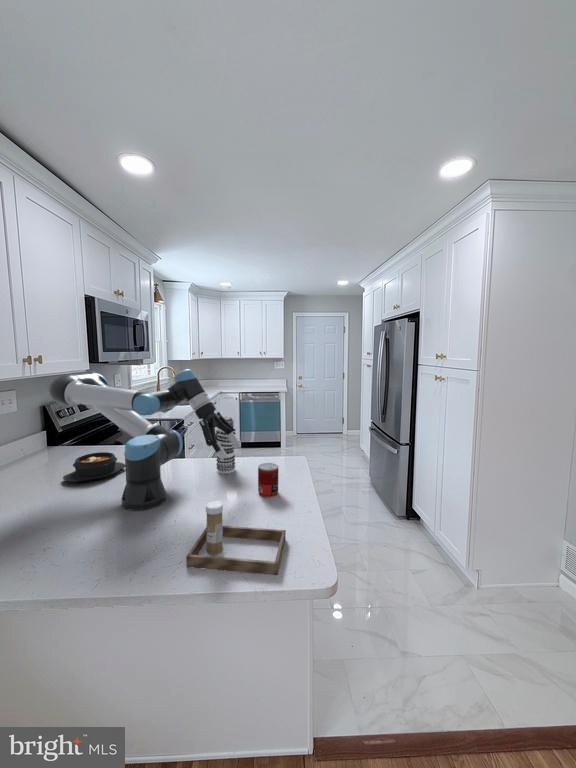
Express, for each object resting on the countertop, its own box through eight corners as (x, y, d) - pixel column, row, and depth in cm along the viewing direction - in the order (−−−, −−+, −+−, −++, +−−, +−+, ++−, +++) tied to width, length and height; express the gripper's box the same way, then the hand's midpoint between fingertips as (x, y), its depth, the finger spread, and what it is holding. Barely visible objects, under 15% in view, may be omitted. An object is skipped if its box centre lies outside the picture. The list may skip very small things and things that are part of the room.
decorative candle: (237, 472, 151) (237, 418, 149) (217, 474, 148) (216, 420, 145) (233, 466, 160) (233, 415, 157) (214, 468, 156) (213, 416, 154)
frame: (186, 567, 84) (186, 556, 84) (208, 534, 100) (208, 524, 99) (277, 575, 82) (277, 563, 81) (285, 539, 97) (285, 530, 97)
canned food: (275, 498, 125) (275, 470, 123) (255, 496, 126) (255, 468, 125) (280, 490, 132) (280, 463, 131) (261, 488, 134) (261, 462, 133)
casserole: (77, 490, 131) (75, 469, 130) (54, 480, 141) (53, 461, 140) (134, 471, 152) (134, 453, 151) (111, 463, 162) (111, 447, 161)
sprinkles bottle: (203, 551, 91) (202, 504, 90) (216, 543, 95) (215, 499, 93) (213, 557, 88) (212, 509, 87) (226, 550, 92) (226, 503, 90)
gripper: (193, 407, 115) (226, 458, 114) (223, 396, 139) (249, 438, 139) (178, 417, 117) (209, 468, 116) (209, 405, 141) (236, 447, 141)
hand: (231, 452), depth 127 cm, fingers open, 13 cm apart
